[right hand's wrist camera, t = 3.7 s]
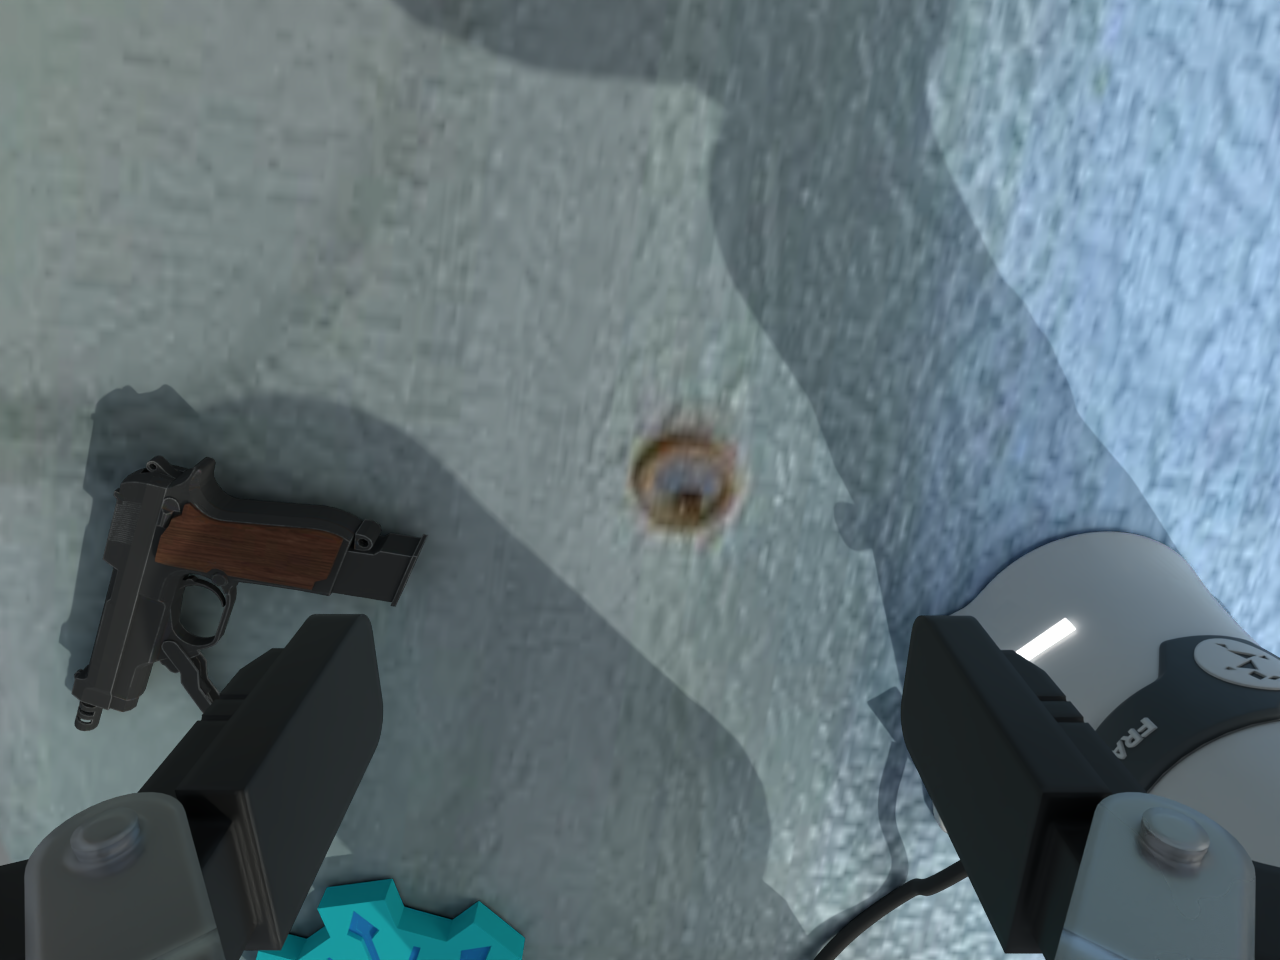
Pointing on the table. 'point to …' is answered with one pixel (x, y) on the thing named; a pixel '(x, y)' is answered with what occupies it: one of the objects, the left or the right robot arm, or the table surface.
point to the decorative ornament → (397, 930)
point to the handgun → (215, 573)
